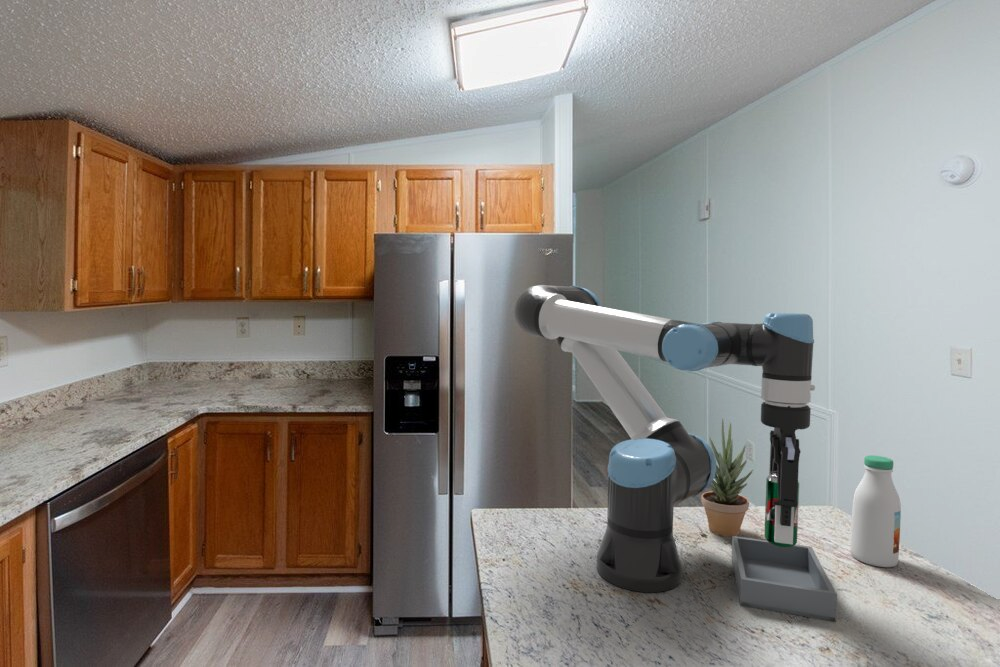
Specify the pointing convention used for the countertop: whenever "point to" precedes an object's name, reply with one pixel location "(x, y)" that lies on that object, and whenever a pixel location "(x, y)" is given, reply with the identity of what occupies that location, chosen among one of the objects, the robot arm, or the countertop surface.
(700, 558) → the countertop surface
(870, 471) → the milk bottle
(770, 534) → the soda can
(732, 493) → the potted plant
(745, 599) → the bin
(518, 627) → the countertop surface
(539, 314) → the robot arm
